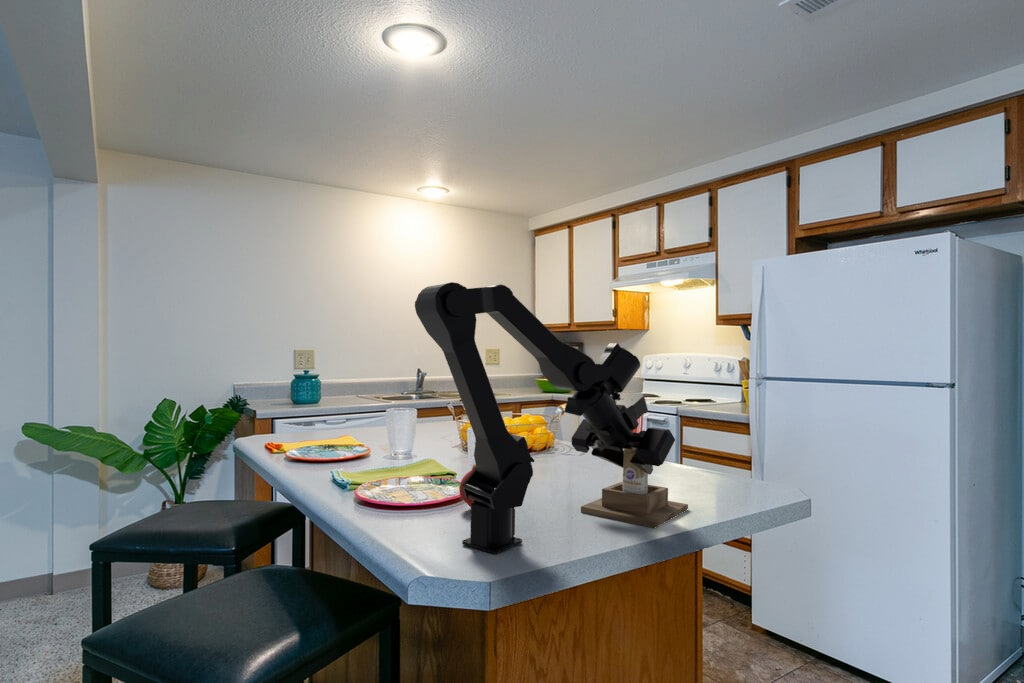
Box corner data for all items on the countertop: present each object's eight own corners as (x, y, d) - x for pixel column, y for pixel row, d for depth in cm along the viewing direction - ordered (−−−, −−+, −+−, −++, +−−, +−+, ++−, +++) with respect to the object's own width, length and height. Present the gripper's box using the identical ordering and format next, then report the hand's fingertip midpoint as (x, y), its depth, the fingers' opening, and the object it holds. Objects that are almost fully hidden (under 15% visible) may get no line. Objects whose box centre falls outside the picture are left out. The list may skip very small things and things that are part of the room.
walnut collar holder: (655, 528, 95) (655, 503, 95) (580, 512, 103) (581, 489, 103) (688, 509, 106) (688, 487, 106) (618, 496, 114) (618, 476, 114)
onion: (496, 506, 106) (496, 462, 106) (486, 515, 100) (486, 468, 100) (465, 504, 108) (466, 460, 108) (454, 512, 102) (454, 466, 102)
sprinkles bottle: (619, 512, 103) (620, 436, 104) (625, 506, 108) (626, 432, 108) (645, 515, 102) (646, 438, 102) (650, 509, 106) (651, 434, 106)
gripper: (669, 380, 95) (704, 442, 102) (582, 375, 109) (618, 429, 116) (639, 433, 90) (678, 494, 97) (552, 421, 104) (592, 475, 111)
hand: (640, 470), depth 106 cm, fingers closed on sprinkles bottle, 4 cm apart
